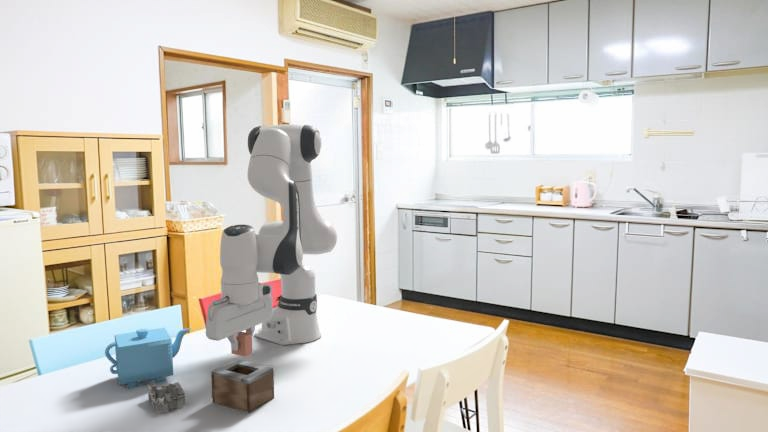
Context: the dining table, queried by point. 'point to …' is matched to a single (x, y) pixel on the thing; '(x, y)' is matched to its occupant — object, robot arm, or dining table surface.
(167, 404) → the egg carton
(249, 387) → the box
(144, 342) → the teapot
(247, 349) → the block
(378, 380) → the dining table surface
